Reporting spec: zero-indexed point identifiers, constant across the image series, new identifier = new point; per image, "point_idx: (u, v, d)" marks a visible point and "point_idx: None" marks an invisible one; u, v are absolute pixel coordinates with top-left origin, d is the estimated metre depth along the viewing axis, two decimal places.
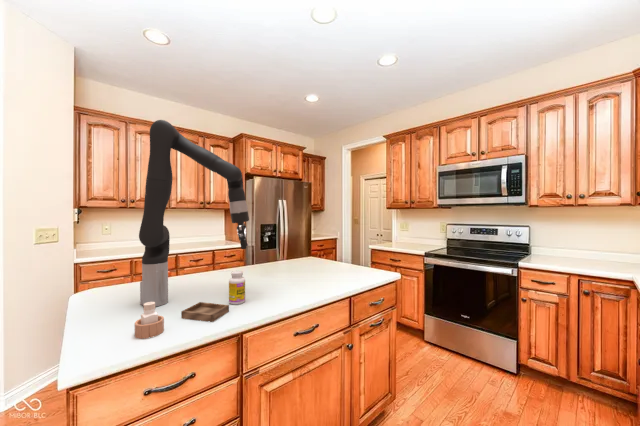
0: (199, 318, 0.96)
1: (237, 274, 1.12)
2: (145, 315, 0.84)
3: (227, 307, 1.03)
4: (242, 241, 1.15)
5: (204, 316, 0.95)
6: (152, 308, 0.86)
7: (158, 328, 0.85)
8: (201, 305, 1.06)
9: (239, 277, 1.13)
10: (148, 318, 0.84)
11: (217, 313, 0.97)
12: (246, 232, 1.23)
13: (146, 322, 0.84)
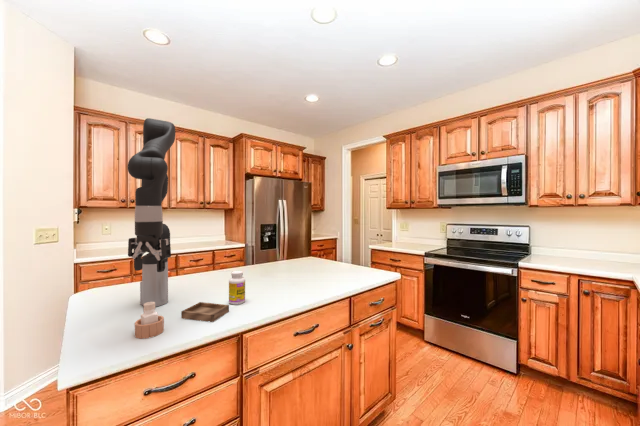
0: (199, 318, 0.96)
1: (237, 274, 1.12)
2: (145, 315, 0.84)
3: (227, 307, 1.03)
4: None
5: (204, 316, 0.95)
6: (152, 308, 0.86)
7: (158, 328, 0.85)
8: (201, 305, 1.06)
9: (239, 277, 1.13)
10: (148, 318, 0.84)
11: (217, 313, 0.97)
12: (151, 252, 0.84)
13: (146, 322, 0.84)
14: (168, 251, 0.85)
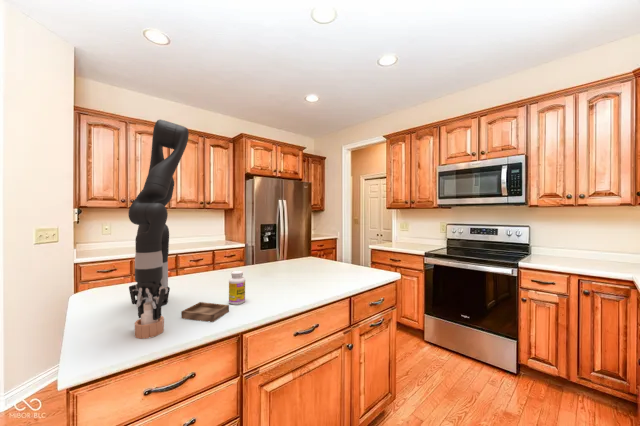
0: (199, 318, 0.96)
1: (237, 274, 1.12)
2: (145, 315, 0.84)
3: (227, 307, 1.03)
4: None
5: (204, 316, 0.95)
6: (152, 308, 0.86)
7: (158, 328, 0.85)
8: (201, 305, 1.06)
9: (239, 277, 1.13)
10: (148, 318, 0.84)
11: (217, 313, 0.97)
12: (149, 299, 0.84)
13: (146, 322, 0.84)
14: (165, 299, 0.86)
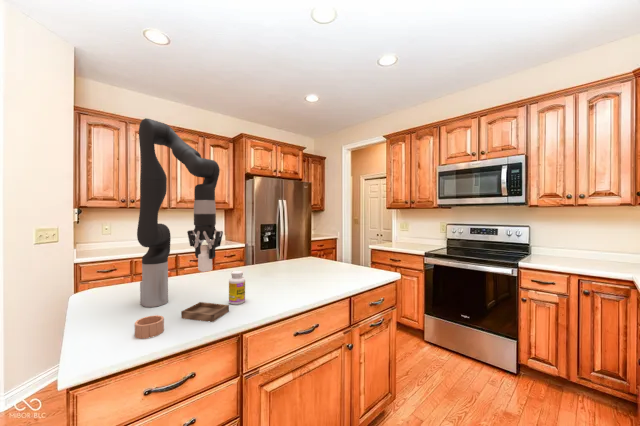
0: (199, 318, 0.96)
1: (237, 274, 1.12)
2: (202, 254, 0.98)
3: (227, 307, 1.03)
4: None
5: (204, 316, 0.95)
6: (208, 249, 1.00)
7: (158, 328, 0.85)
8: (201, 305, 1.06)
9: (239, 277, 1.13)
10: (205, 257, 0.98)
11: (217, 313, 0.97)
12: (206, 240, 0.98)
13: (203, 260, 0.98)
14: (219, 241, 1.00)
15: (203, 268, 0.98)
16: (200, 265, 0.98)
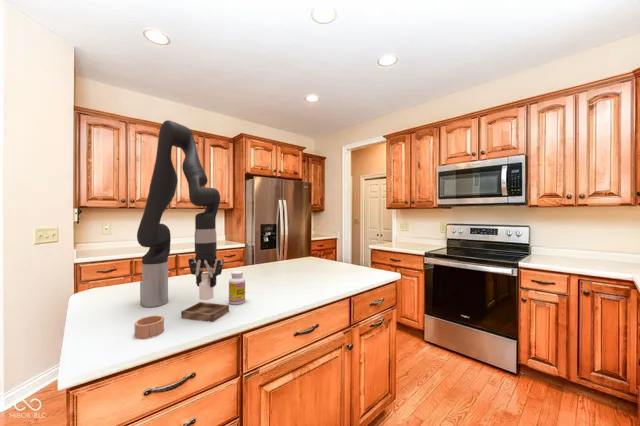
0: (199, 318, 0.96)
1: (237, 274, 1.12)
2: (203, 283, 0.99)
3: (227, 307, 1.03)
4: None
5: (204, 316, 0.95)
6: (209, 277, 1.00)
7: (158, 328, 0.85)
8: (201, 305, 1.06)
9: (239, 277, 1.13)
10: (206, 285, 0.99)
11: (217, 313, 0.97)
12: (207, 269, 0.99)
13: (204, 289, 0.98)
14: (220, 269, 1.00)
15: (204, 297, 0.98)
16: (201, 293, 0.99)
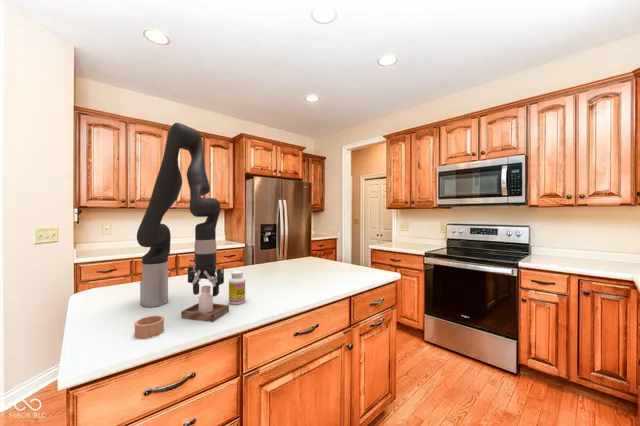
0: (199, 318, 0.96)
1: (237, 274, 1.12)
2: (203, 296, 0.99)
3: (227, 307, 1.03)
4: None
5: (204, 316, 0.95)
6: (209, 291, 1.00)
7: (158, 328, 0.85)
8: None
9: (239, 277, 1.13)
10: (206, 299, 0.99)
11: (217, 313, 0.97)
12: (208, 279, 0.98)
13: (204, 302, 0.98)
14: (222, 278, 1.00)
15: (204, 310, 0.98)
16: (201, 307, 0.99)
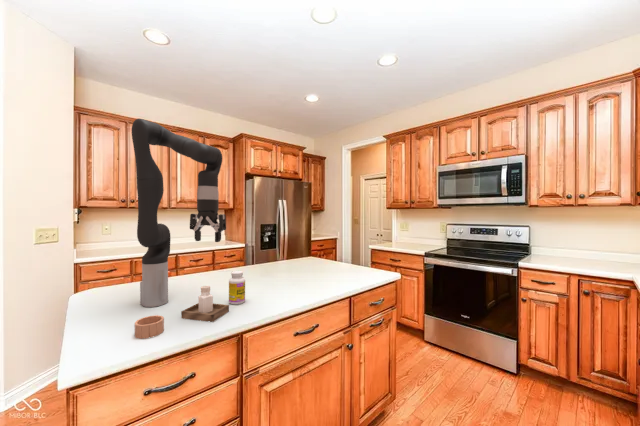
0: (199, 318, 0.96)
1: (237, 274, 1.12)
2: (203, 296, 0.99)
3: (227, 307, 1.03)
4: None
5: (204, 316, 0.95)
6: (208, 291, 1.00)
7: (158, 328, 0.85)
8: None
9: (239, 277, 1.13)
10: (206, 299, 0.99)
11: (217, 313, 0.97)
12: (210, 225, 1.00)
13: (204, 302, 0.98)
14: (224, 225, 1.01)
15: (204, 310, 0.98)
16: (201, 307, 0.99)
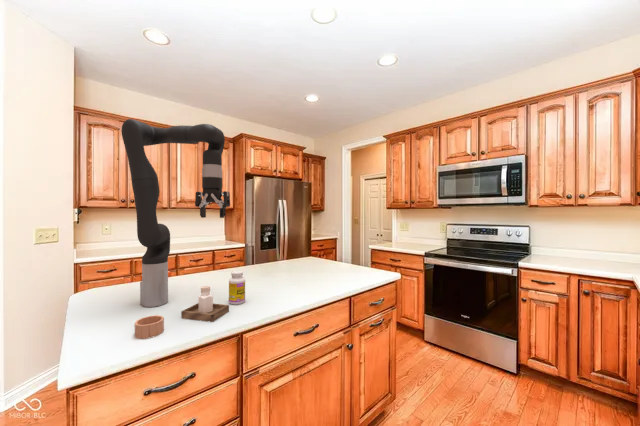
0: (199, 318, 0.96)
1: (237, 274, 1.12)
2: (203, 296, 0.99)
3: (227, 307, 1.03)
4: None
5: (204, 316, 0.95)
6: (208, 291, 1.00)
7: (158, 328, 0.85)
8: None
9: (239, 277, 1.13)
10: (206, 299, 0.99)
11: (217, 313, 0.97)
12: (215, 201, 1.05)
13: (204, 302, 0.98)
14: (228, 201, 1.06)
15: (204, 310, 0.98)
16: (201, 307, 0.99)
